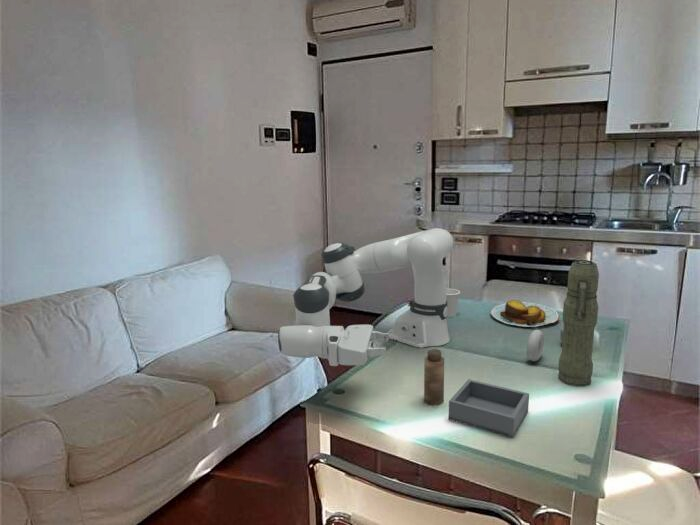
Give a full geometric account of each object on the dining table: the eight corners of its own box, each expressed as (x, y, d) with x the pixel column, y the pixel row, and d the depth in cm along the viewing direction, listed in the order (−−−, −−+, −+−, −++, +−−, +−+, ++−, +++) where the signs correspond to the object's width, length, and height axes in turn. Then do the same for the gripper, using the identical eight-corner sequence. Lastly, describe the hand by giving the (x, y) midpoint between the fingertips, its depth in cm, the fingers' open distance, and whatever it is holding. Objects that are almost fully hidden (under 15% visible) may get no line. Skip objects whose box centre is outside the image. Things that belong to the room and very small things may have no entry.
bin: (448, 419, 124) (448, 401, 123) (467, 395, 135) (468, 379, 134) (513, 437, 115) (514, 418, 114) (528, 411, 127) (529, 393, 126)
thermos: (588, 372, 148) (598, 258, 140) (594, 390, 137) (606, 267, 129) (556, 369, 150) (564, 256, 143) (559, 386, 139) (569, 266, 132)
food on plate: (572, 322, 191) (573, 305, 189) (527, 335, 179) (528, 318, 177) (520, 305, 212) (521, 290, 211) (477, 315, 200) (477, 300, 199)
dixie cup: (440, 310, 207) (441, 287, 204) (461, 312, 203) (461, 289, 201) (436, 317, 199) (436, 293, 197) (457, 319, 196) (457, 295, 194)
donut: (535, 367, 152) (537, 336, 150) (524, 364, 154) (526, 334, 152) (544, 356, 160) (546, 326, 158) (533, 353, 162) (535, 324, 160)
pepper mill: (420, 402, 133) (421, 353, 130) (428, 394, 137) (429, 346, 134) (439, 407, 130) (439, 357, 127) (446, 398, 134) (447, 350, 131)
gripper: (342, 339, 144) (390, 340, 142) (329, 369, 124) (384, 371, 122) (342, 318, 143) (389, 319, 141) (328, 345, 123) (384, 347, 121)
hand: (387, 343), depth 131 cm, fingers open, 8 cm apart
